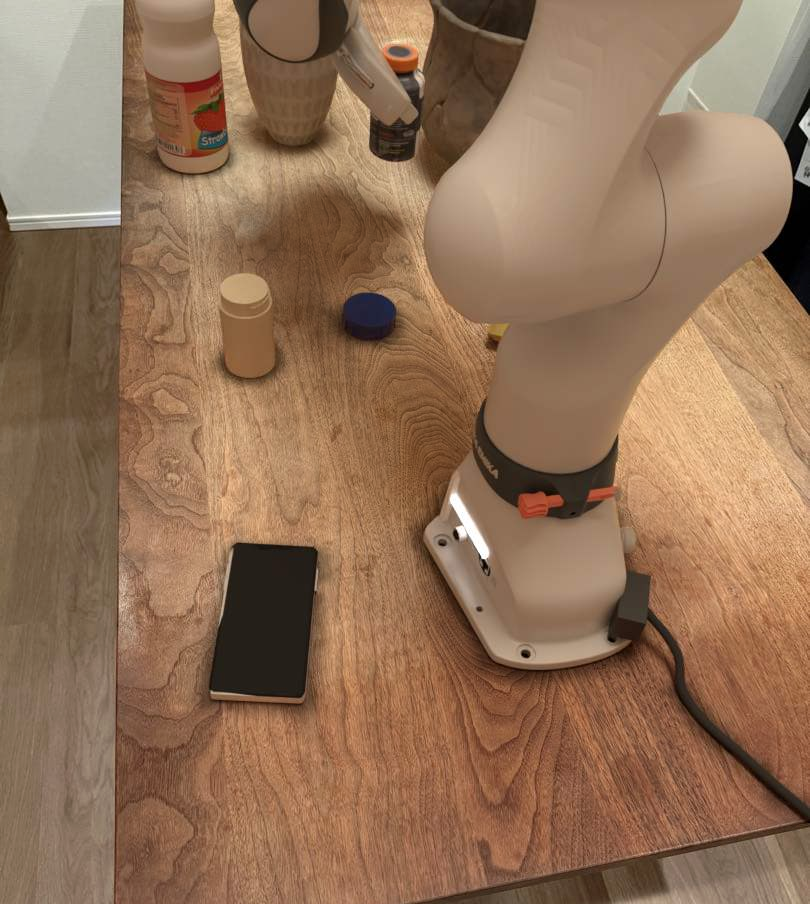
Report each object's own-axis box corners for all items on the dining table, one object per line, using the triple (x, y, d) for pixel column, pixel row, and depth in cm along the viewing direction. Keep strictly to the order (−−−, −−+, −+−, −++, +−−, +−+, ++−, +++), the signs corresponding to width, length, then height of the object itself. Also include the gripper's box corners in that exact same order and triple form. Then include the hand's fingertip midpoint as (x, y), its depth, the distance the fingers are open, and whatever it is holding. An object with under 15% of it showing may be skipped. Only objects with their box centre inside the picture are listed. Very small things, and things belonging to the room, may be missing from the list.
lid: (371, 298, 103) (372, 285, 101) (406, 325, 100) (407, 312, 99) (331, 319, 100) (331, 305, 98) (366, 347, 98) (367, 334, 96)
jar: (279, 375, 94) (275, 302, 86) (228, 380, 93) (219, 307, 85) (271, 341, 97) (267, 269, 89) (222, 346, 96) (213, 273, 88)
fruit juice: (167, 134, 120) (131, -108, 98) (235, 141, 120) (215, -99, 98) (150, 171, 115) (109, -77, 92) (222, 179, 115) (198, -66, 92)
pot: (456, 100, 132) (476, -62, 115) (603, 147, 127) (647, -15, 110) (381, 178, 118) (391, 6, 101) (543, 235, 113) (583, 64, 96)
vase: (355, 145, 122) (363, -91, 100) (275, 168, 117) (264, -75, 95) (309, 103, 128) (306, -129, 105) (230, 123, 123) (210, -116, 100)
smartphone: (205, 693, 70) (230, 541, 79) (207, 700, 71) (231, 549, 80) (306, 698, 70) (320, 546, 79) (306, 704, 71) (320, 554, 80)
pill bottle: (428, 148, 104) (438, 49, 95) (401, 170, 101) (409, 69, 92) (386, 131, 106) (392, 32, 97) (358, 151, 103) (362, 51, 94)
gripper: (367, 33, 82) (453, 126, 92) (314, -55, 93) (396, 37, 103) (321, 85, 84) (409, 170, 94) (275, -7, 96) (358, 78, 106)
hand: (402, 100), depth 99 cm, fingers closed on pill bottle, 6 cm apart
